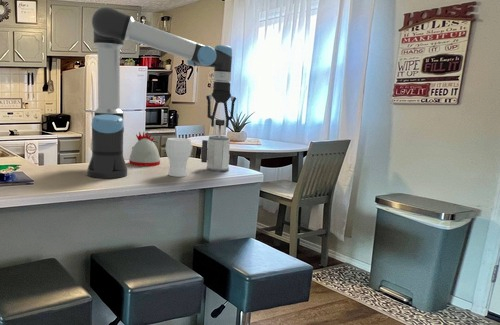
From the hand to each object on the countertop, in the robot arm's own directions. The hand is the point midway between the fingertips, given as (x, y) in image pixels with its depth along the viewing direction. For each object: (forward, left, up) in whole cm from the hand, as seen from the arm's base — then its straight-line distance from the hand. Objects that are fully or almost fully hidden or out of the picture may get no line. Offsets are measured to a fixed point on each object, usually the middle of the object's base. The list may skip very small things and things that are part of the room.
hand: (219, 134), depth 199 cm
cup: (-16, -17, -16) cm, 28 cm away
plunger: (0, 0, -12) cm, 12 cm away
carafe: (-1, 0, -16) cm, 16 cm away
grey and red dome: (-34, +5, -16) cm, 38 cm away
